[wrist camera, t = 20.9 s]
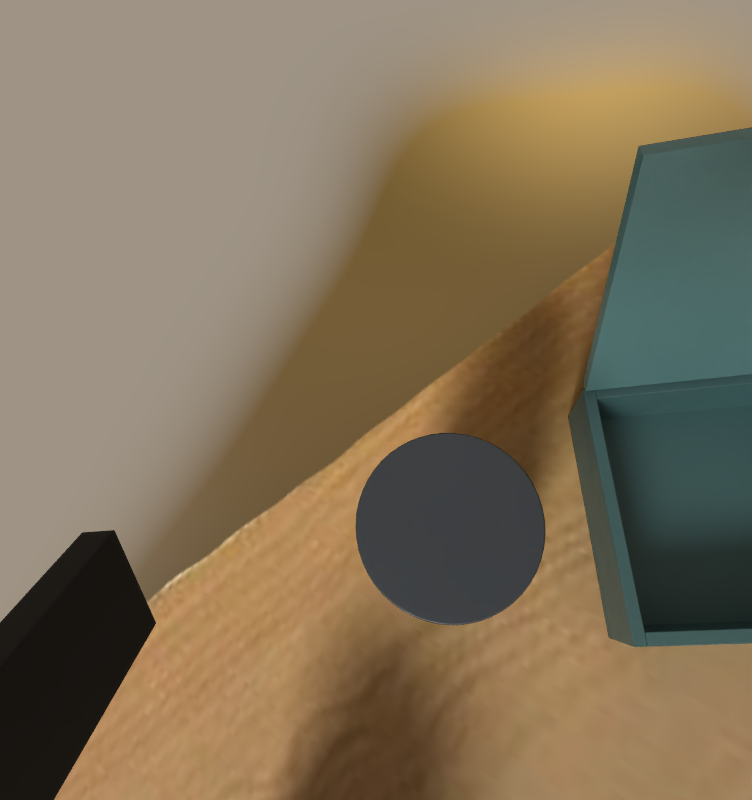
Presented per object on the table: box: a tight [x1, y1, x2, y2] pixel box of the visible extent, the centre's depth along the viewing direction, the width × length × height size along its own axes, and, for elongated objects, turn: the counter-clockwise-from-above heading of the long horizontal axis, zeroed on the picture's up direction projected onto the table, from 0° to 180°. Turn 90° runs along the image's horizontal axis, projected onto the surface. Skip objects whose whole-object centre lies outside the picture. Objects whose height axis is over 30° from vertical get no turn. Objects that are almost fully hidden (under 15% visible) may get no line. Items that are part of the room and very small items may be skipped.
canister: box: [356, 433, 545, 625], centre depth 34 cm, size 9×9×16 cm
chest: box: [568, 374, 752, 647], centre depth 36 cm, size 17×17×6 cm
